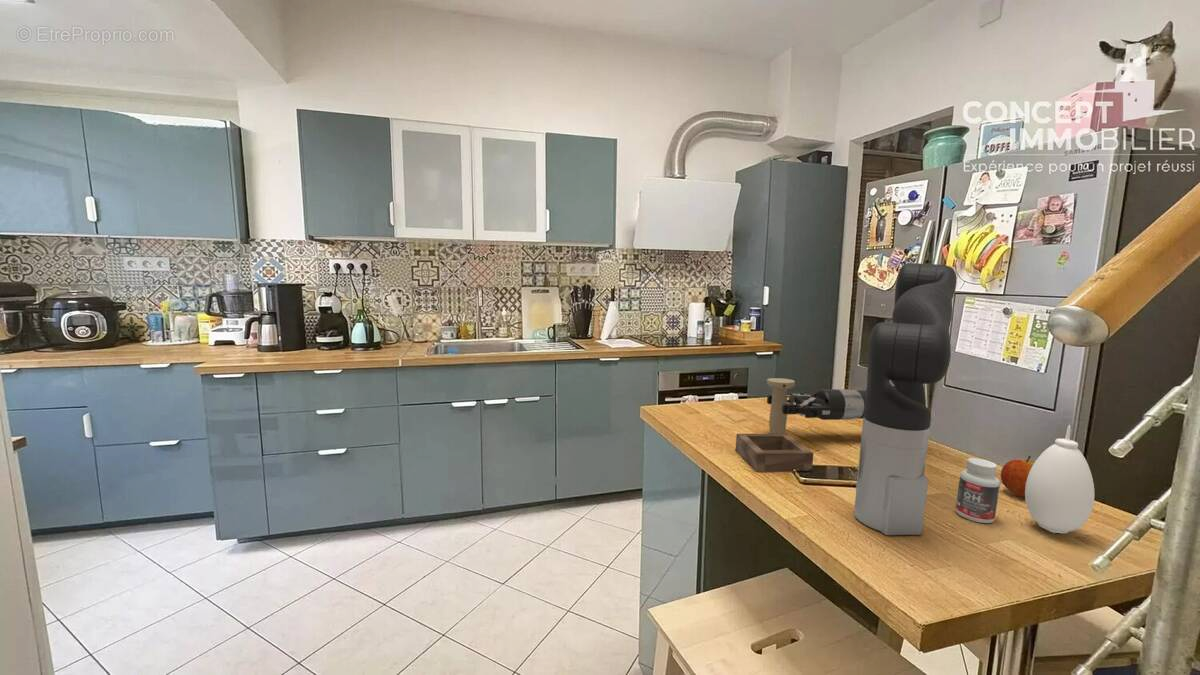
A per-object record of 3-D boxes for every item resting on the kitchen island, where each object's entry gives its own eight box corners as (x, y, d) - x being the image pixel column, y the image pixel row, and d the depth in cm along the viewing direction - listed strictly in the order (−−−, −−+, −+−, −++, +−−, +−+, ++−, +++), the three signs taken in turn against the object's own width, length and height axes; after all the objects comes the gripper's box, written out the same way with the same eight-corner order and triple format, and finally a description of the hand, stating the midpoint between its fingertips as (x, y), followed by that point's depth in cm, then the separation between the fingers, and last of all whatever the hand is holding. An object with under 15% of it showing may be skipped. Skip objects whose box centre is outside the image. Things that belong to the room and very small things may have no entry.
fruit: (1018, 504, 87) (1024, 462, 85) (989, 487, 93) (994, 448, 92) (1057, 505, 86) (1064, 463, 85) (1025, 488, 93) (1031, 449, 92)
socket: (811, 471, 99) (813, 452, 99) (756, 471, 98) (757, 453, 98) (785, 449, 111) (786, 433, 110) (735, 450, 110) (736, 433, 110)
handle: (793, 443, 116) (798, 383, 113) (766, 442, 116) (771, 382, 114) (785, 436, 120) (790, 378, 118) (760, 435, 120) (764, 378, 118)
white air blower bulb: (1036, 538, 75) (1054, 429, 72) (1010, 515, 82) (1025, 415, 80) (1099, 548, 73) (1119, 435, 70) (1066, 523, 80) (1083, 420, 78)
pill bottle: (959, 519, 80) (967, 464, 79) (951, 505, 85) (958, 454, 84) (999, 527, 78) (1007, 471, 77) (988, 512, 83) (996, 459, 82)
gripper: (824, 383, 124) (763, 382, 123) (856, 397, 110) (789, 397, 109) (821, 410, 125) (761, 410, 124) (853, 428, 111) (787, 428, 110)
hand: (774, 404), depth 117 cm, fingers open, 8 cm apart
